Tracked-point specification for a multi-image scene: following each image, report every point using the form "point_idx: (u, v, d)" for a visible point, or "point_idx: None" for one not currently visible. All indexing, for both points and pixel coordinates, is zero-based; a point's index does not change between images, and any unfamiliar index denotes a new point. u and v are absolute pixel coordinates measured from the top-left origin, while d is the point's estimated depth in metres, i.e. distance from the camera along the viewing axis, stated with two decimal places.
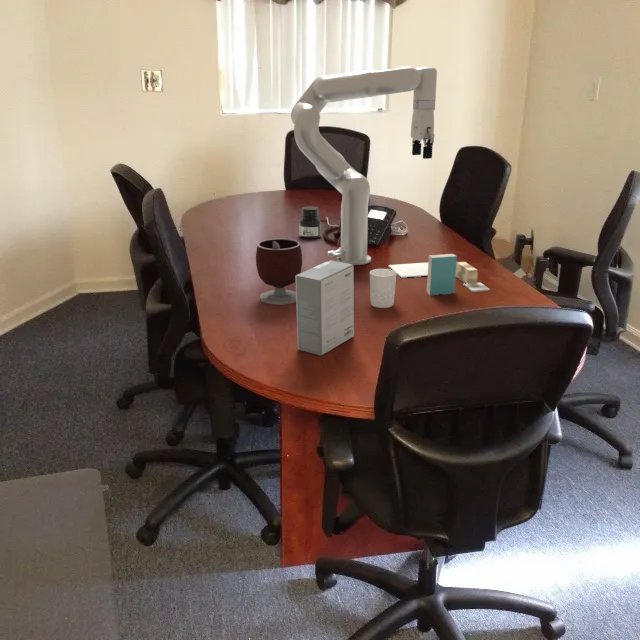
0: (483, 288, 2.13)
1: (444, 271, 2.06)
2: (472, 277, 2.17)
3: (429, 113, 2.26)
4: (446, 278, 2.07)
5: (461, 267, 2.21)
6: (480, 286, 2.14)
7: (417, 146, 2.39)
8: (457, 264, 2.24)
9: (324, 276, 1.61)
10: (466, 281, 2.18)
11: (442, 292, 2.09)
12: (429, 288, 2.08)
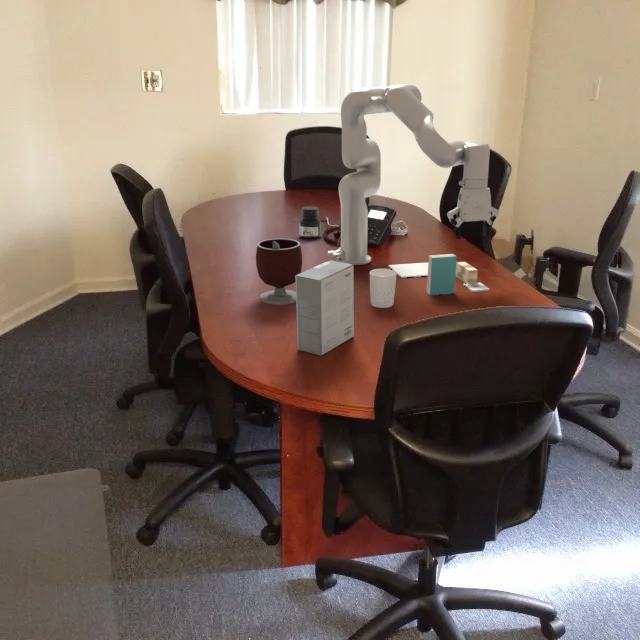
0: (483, 288, 2.13)
1: (444, 271, 2.06)
2: (472, 277, 2.17)
3: None
4: (446, 278, 2.07)
5: (461, 267, 2.21)
6: (480, 286, 2.14)
7: None
8: (457, 264, 2.24)
9: (324, 276, 1.61)
10: (466, 281, 2.18)
11: (442, 292, 2.09)
12: (429, 288, 2.08)
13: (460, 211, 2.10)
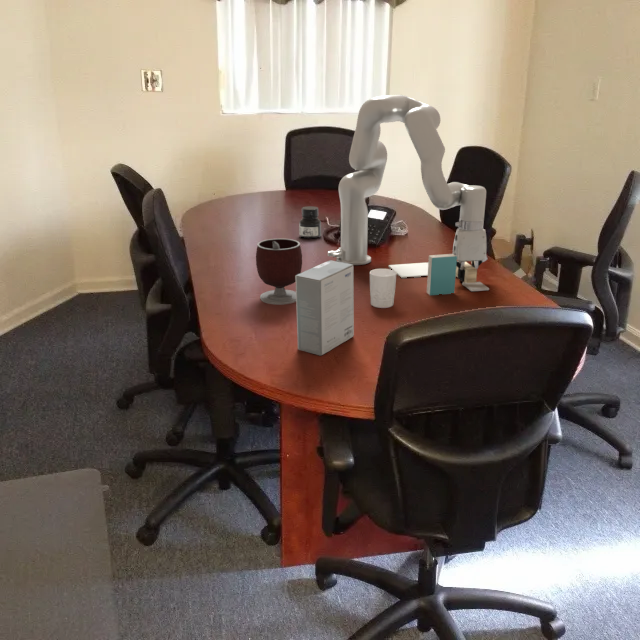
0: (482, 287, 2.13)
1: (444, 271, 2.06)
2: (471, 276, 2.17)
3: None
4: (446, 278, 2.07)
5: None
6: (479, 285, 2.14)
7: None
8: None
9: (324, 276, 1.61)
10: (465, 280, 2.18)
11: (442, 292, 2.09)
12: (429, 288, 2.08)
13: (456, 251, 2.15)
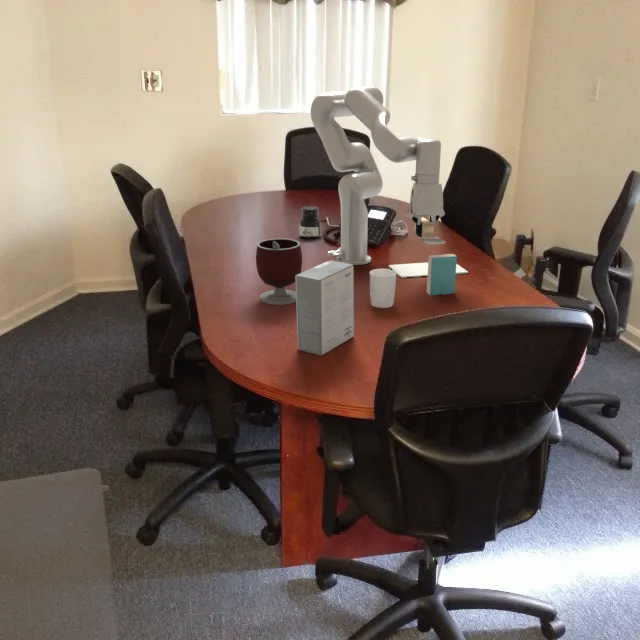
0: (439, 241, 2.12)
1: (444, 271, 2.06)
2: (428, 231, 2.16)
3: None
4: (446, 278, 2.07)
5: None
6: (436, 239, 2.13)
7: None
8: None
9: (324, 276, 1.61)
10: (423, 235, 2.17)
11: (442, 292, 2.09)
12: (429, 288, 2.08)
13: (412, 206, 2.14)
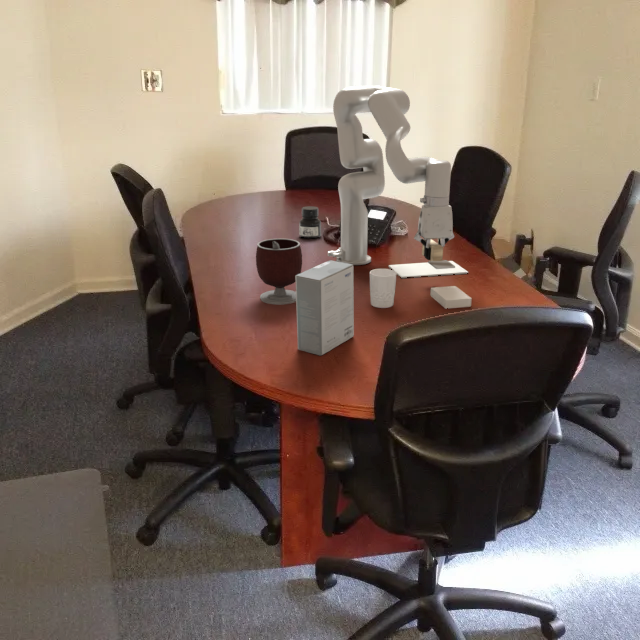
0: (448, 265, 2.06)
1: None
2: (437, 254, 2.09)
3: None
4: None
5: None
6: (445, 263, 2.07)
7: None
8: None
9: (324, 276, 1.61)
10: (431, 258, 2.11)
11: None
12: None
13: (421, 228, 2.08)
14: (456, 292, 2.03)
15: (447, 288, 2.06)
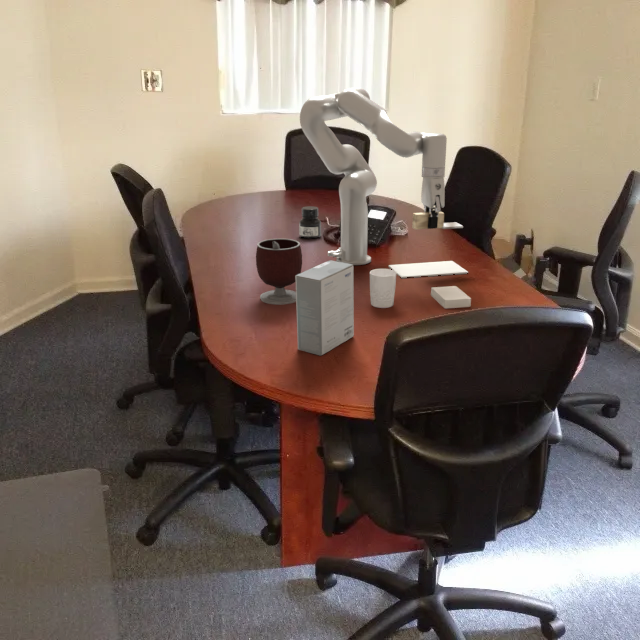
0: (455, 223, 2.31)
1: None
2: None
3: None
4: None
5: (427, 215, 2.25)
6: (450, 223, 2.30)
7: None
8: (418, 216, 2.24)
9: (324, 276, 1.61)
10: (440, 225, 2.27)
11: None
12: (433, 296, 2.06)
13: (442, 199, 2.20)
14: (456, 292, 2.03)
15: (447, 288, 2.06)
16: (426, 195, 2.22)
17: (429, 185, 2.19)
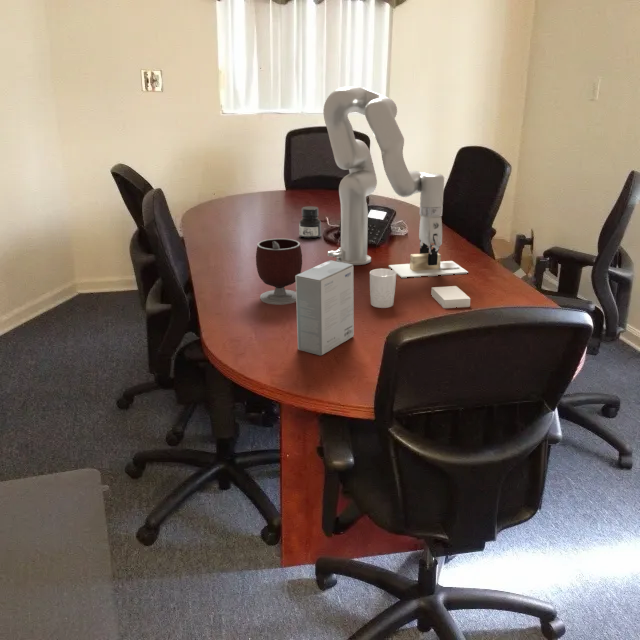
0: (451, 263, 2.36)
1: None
2: None
3: None
4: None
5: (424, 257, 2.30)
6: (446, 264, 2.35)
7: None
8: (415, 258, 2.29)
9: (324, 276, 1.61)
10: (436, 266, 2.32)
11: None
12: (433, 296, 2.07)
13: (439, 237, 2.24)
14: (456, 292, 2.03)
15: (448, 288, 2.07)
16: (424, 233, 2.27)
17: (427, 224, 2.24)
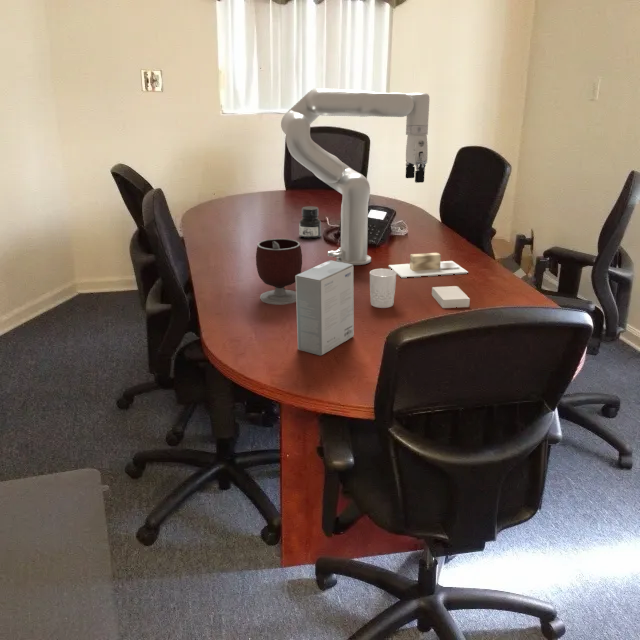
0: (451, 263, 2.36)
1: None
2: None
3: None
4: None
5: (424, 257, 2.30)
6: (446, 264, 2.35)
7: None
8: (415, 258, 2.29)
9: (324, 276, 1.61)
10: (436, 266, 2.32)
11: None
12: (433, 296, 2.07)
13: (425, 155, 2.31)
14: (456, 292, 2.03)
15: (448, 288, 2.07)
16: (410, 152, 2.34)
17: (413, 142, 2.31)
